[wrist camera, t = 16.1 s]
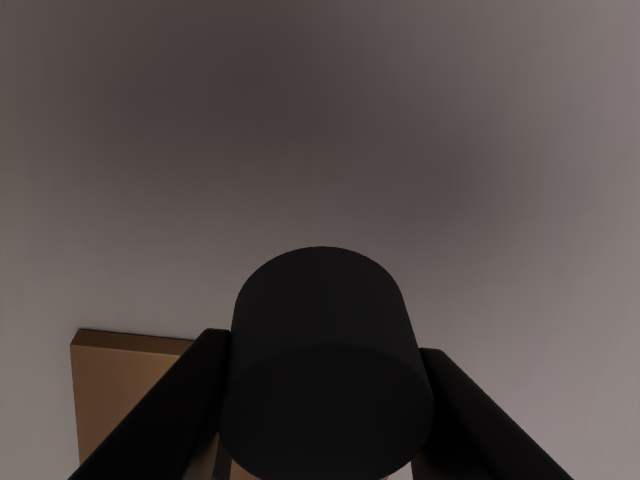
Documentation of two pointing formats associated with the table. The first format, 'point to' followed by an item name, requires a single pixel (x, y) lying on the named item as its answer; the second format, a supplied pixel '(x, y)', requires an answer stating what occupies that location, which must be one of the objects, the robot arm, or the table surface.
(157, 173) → the table surface
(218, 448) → the dot
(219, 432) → the dot
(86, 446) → the board
